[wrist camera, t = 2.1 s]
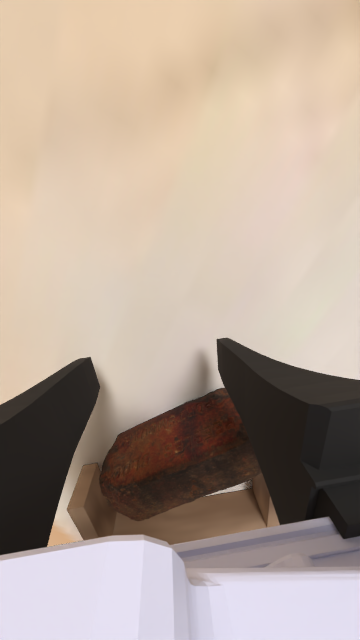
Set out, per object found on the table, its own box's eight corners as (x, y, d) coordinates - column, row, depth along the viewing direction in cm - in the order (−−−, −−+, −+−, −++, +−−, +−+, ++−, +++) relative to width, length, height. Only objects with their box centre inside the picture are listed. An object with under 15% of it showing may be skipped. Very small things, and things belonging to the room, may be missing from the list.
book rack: (263, 493, 20) (311, 611, 13) (107, 520, 19) (79, 658, 13) (266, 435, 17) (331, 550, 10) (83, 465, 16) (29, 607, 10)
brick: (225, 379, 15) (250, 434, 10) (242, 412, 16) (272, 473, 12) (110, 434, 16) (89, 504, 11) (135, 461, 17) (125, 533, 13)
